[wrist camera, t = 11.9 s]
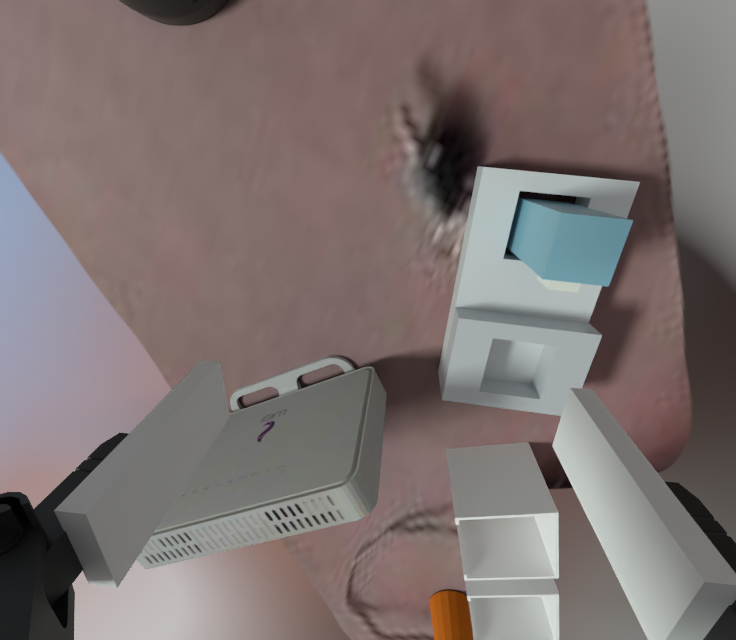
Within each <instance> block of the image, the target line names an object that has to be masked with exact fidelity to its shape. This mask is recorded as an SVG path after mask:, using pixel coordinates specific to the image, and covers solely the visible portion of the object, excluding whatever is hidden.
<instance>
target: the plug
mask: <svg viewBox="0 0 736 640" xmlns="http://www.w3.org/2000/svg"><path fill="white" fill-rule="evenodd" d="M632 223H633V220H631V219H627V218H623V217H620V216H616V215H612V214H609V213H605V212H601V211H598V210H594V209H590V208H587V207H583V206H579V205H576V204H572V203H568V202H560V201H550V200H540V199H530V198H520V197H518V201H517V205H516V209H515V213H514V217H513V221H512V225H511V229H510V233H509V238H508V242H507V246H506V247H507V248H508V249H509V250H510V251H512V252H513V253H514V254H515V255H516V256H517V257H518V258H519V259H520V260H522V261H523V262H524V263H525V264H526V265H527V266H528V267H529V268H531V269H532V270H533V271H534V272H535V273H536V274H537V275H538V276H537V279H538V280H539V281H540V282H541V283H542V284H543V285H544V286H545V287H546V288H547V289H549V290H557V291H566V292H575V293H578V292H579V289H580V286H581V284H590V285H599V286H608V287H609V284H610V282H611V279H612V276H613V274H614V271H615V268H616V266H617V263H618V260H619V258H620V255H621V252H622V250H623V247H624V244H625V242H626V239H627V236H628V234H629V231H630V228H631V226H632Z"/></svg>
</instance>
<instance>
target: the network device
mask: <svg viewBox="0 0 736 640" xmlns="http://www.w3.org/2000/svg"><path fill="white" fill-rule="evenodd" d="M331 364H337V365H339V366H340V367H341V368H342V369H343V371H344V372H345V374H343V375H340V376H337V377H334V378H331V379H328V380H326V381H323V382H320V383H317V384H314V385H311V386H308V387H305V388H302V387H301V385H300V384H299V382H298V377H299V376H300V375H302V374H305V373H308V372H311V371H313V370H316V369H319V368H322V367H325V366H328V365H331ZM266 387H274V388H276V389H277V390H278V392H279V397H276V398H273V399H270V400H268V401H265V402H262V403H259V404H256V405H253V406H250V407H247V408H244V409H243V407H242V406H241V404H240V403H239V397H241V396H243V395H246V394H249V393H252V392H254V391H257V390H260V389H263V388H266ZM386 399H387V393H386V391H385V389H384V387H383V385H382V383H381V381H380V379H379V377H378V375H377V373H376V371H375V369H374V368H373V367H371V366H368V367H363V368H360V369H357V370H355V368H354V366H353V365H352V364H351V363H350V362H349V361H348V360H346V359H345V358H342V357H339V356H327V357H324V358H321V359H318V360H315V361H313V362H310V363H307V364H304V365H302V366H299V367H296V368H293V369H291V370H288V371H285V372H282V373H280V374H277V375H274V376H271V377H269V378H266V379H263V380H260V381H258V382H255V383H252V384H249V385H247V386H244V387H241V388H239V389H237V390H236V391H235V392H234V394H233V395H232V397H231V400H230V405H231V409H232V410H233V413H230V414H229V419H228V421H227V422H226V424H225V426H224V427H223V429H222V430H221V432H220V433H219V435H218V436H217V438H216V439H215V441H214V442H213V444H212V445H211V447H210V448H209V450H208V451H207V453H206V454H205V456H204V457H203V459H202V460H201V462H200V463H199V465H198V466H197V468H196V469H195V471H194V472H193V474H192V475H191V477H190V478H189V480H188V481H187V483H186V485H185V486H184V488H183V489H182V491H181V492H180V494H179V495H178V497H177V498H176V500H175V501H174V503H173V504H172V506H171V507H170V509H169V510H168V512H167V513H166V515H165V516H164V518H163V519H162V521H161V522H160V524H159V525H158V527H157V528H156V530H155V531H154V533H153V534H152V536H151V537H150V539H149V540H148V542H147V544H146V545H145V547H144V548H143V550H142V551H141V553H140V554H139V556H138V557H137V559H136V560H137V561H138V562H139V563H140V564H141V565H142V566H143V567H144V568H145V569H150V568H154V567H158V566H163V565H167V564H171V563H176V562H180V561H184V560H188V559H193V558H197V557H201V556H206V555H210V554H214V553H219V552H223V551H227V550H231V549H236V548H240V547H244V546H249V545H253V544H257V543H261V542H266V541H270V540H274V539H279V538H283V537H288V536H292V535H296V534H301V533H305V532H309V531H313V530H318V529H322V528H326V527H331V526H335V525H339V524H344V523H348V522H352V521H357V520H360V519H362V518H364V517H366V516H367V515H368V514H369V513H370V512H371V511H372V510H373V509H374V507H375V505H376V503H377V499H378V488H379V477H380V466H381V455H382V443H383V432H384V421H385V410H386Z"/></svg>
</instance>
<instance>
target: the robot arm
mask: <svg viewBox="0 0 736 640" xmlns="http://www.w3.org/2000/svg"><path fill="white" fill-rule="evenodd" d="M119 1H121V2H122V3H124V4H125V5H126V6H128V7H130V8H131V9H133V10H135V11H137V12H139V13H140V14H142V15H144V16H146V17H148V18H150V19H152V20H155V21H157V22H160V23H164V24H168V25H190V24H194V23H198V22H200V21H203V20H205V19H207V18H209V17H210V16H212V15H213V14H215V13H216V12H217V11H218V10H219V9H220V8H221V7H223V5H224V4H225V3H226V2H227V1H228V0H119ZM228 419H229V412H228V406H227V400H226V394H225V388H224V382H223V376H222V370H221V364H220V362H219V361H206V360H201V361H200V362H199V363H198V364H197V365H196V366H195V367H194V368H193V369H192V370H191V371H190V372H189V373H188V374H187V375H186V376H185V377H184V378H183V379H182V380H181V381H180V382H179V383H178V384H177V385H176V386H175V387H174V388H173V389H172V391H170V393H169V394H168V395H167V396H166V397H165V398H164V399H163V400H162V401H161V402H160V403H159V404H158V405H157V406H156V407H155V408H154V409H153V410H152V411H151V412H150V413H149V414H148V415H147V416H146V417H145V418H144V419H143V420H142V421H141V422H140V423H139V424H138V425H137V426H136V427H135V428H134V429H133V430H132V431H131V432H130V433H129V434H127V433H119V434H117V435H116V436H114V437H112V438H111V439H109V440H107V441H106V442H104V443H103V444H101V445H100V446H99V447H98V448H97V449H96V450H95V451H94V452H93V453H92V454H91V455H90V456H89V457H88V459H87V460H84V461H83V462H82V463H81V464H80V465H79V466H78V467H77V468H76V471H75V472H72V473H71V474H70V475H69V476H68V477H67V478H66V479H65V480H64V481H63V482H62V483H61V484H60V485H59V486H57V487H56V488H55V490H53V491H52V492H51V493H50V494H49V495H48V496H47V497H46V498H45V499H44V500H43V501H42V502H41V503H40V504H39V505H38V506H37V507H36V508H35V509H33V507H32V505H31V503H30V501H29V499H28V498H27V496H26V495H24V494H22V493H20V492H7V493H3V494H0V640H74V599H75V598H74V597H75V595H74V594H75V592H74V589H73V586H72V583H73V582H74V581H75V579H76V578H77V577H78V575H79V574H80V573H81V571H82V570H83V572H84V574H85V576H86V579H87V581H88V583H89V584H91V585H99V586H107V587H115V588H117V587H118V586H119V584H120V583H121V581H122V580H123V578H124V577H125V575H126V574H127V572H128V571H129V569H130V568H131V566H132V565H133V563H134V562H135V560H136V559H137V557H138V556H139V554H140V553H141V551H142V550H143V548H144V547H145V545H146V544H147V542H148V540H149V539H150V537H151V536H152V534H153V533H154V531H155V530H156V528H157V527H158V525H159V524H160V522H161V521H162V519H163V518H164V516H165V515H166V513H167V512H168V510H169V509H170V507H171V506H172V504H173V503H174V501H175V500H176V498H177V497H178V495H179V494H180V492H181V491H182V489H183V488H184V486H185V485H186V483H187V481H188V480H189V478H190V477H191V475H192V474H193V472H194V471H195V469H196V468H197V466H198V465H199V463H200V462H201V460H202V459H203V457H204V456H205V454H206V453H207V451H208V450H209V448H210V447H211V445H212V444H213V442H214V441H215V439H216V438H217V436H218V435H219V433H220V432H221V430H222V429H223V427H224V426H225V424H226V422H227V421H228ZM552 446H553V448H554V451H555V453H556V455H557V457H558V459H559V461H560V463H561V465H562V467H563V469H564V471H565V473H566V475H567V477H568V479H569V481H570V483H571V485H572V487H573V489H574V491H575V493H576V495H577V497H578V499H579V501H580V503H581V505H582V507H583V509H584V511H585V513H586V515H587V517H588V519H589V521H590V523H591V525H592V527H593V529H594V531H595V533H596V535H597V537H598V539H599V541H600V543H601V546H602V548H603V550H604V552H605V554H606V556H607V558H608V559H609V562H610V564H611V566H612V568H613V570H614V572H615V574H616V576H617V578H618V580H619V582H620V584H621V586H622V588H623V590H624V592H625V594H626V596H627V598H628V600H629V602H630V604H631V606H632V608H633V610H634V612H635V614H636V616H637V618H638V620H639V622H640V624H641V626H642V628H643V630H644V633H645V634H646V637H647V639H648V640H736V543H735V542H734V541H733V540H732V538H731V537H729V536H727V532H725V530H724V529H723V528H722V526H721V525H720V524H719V523H718V522H717V521H715V520H714V517H713V516H712V514H710V512H709V511H708V510H707V508H706V507H705V506H704V505H703V504H702V503H701V501H700V500H699V499H698V498H696V497H695V496H694V495H693V494H691V493H690V492H689V491H688V490H686V489H685V488H684V487H683V486H681V485H680V484H679V483H674V482H664V481H663V480H662V478H661V477H660V476H659V474H658V473H657V472H656V471H655V469H654V468H653V467H652V465H651V464H650V463H649V462H648V460H647V459H646V458H645V456H644V455H643V454H642V453H641V451H640V450H639V449H638V447H637V446H636V445H635V444H634V442H633V441H632V440H631V438H630V437H629V436H628V435H627V433H626V432H625V431H624V429H623V428H622V427H621V426H620V424H619V423H618V422H617V420H616V419H615V418H614V417H613V415H612V414H611V413H610V411H609V410H608V409H607V408H606V406H605V405H604V404H603V403H602V401H601V400H600V399H599V397H598V396H597V395H596V394H595V392H594V391H593V390H592V389H580V388H570V390H569V394H568V397H567V400H566V403H565V407H564V410H563V413H562V416H561V419H560V423H559V426H558V429H557V432H556V436H555V439H554V442H553V445H552Z"/></svg>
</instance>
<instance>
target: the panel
mask: <svg viewBox="0 0 736 640" xmlns="http://www.w3.org/2000/svg"><path fill="white" fill-rule="evenodd" d="M639 184H640V182H636V181H626V180H615V179H605V178H595V177H584V176H574V175H564V174H553V173H543V172H532V171H522V170H512V169H501V168H491V167H481V166H478V168H477V173H476V178H475V183H474V188H473V193H472V199H471V204H470V209H469V214H468V219H467V224H466V230H465V235H464V240H463V245H462V250H461V255H460V261H459V266H458V271H457V276H456V281H455V286H454V292H453V297H452V302H451V307H450V312H449V317H448V323H447V328H446V333H445V338H444V343H443V348H442V354H441V359H440V364H439V369H438V375H439V382H440V390H441V397H442V400H444V401H452V402H460V403H467V404H475V405H482V406H490V407H498V408H505V409H513V410H520V411H528V412H536V413H543V414H551V415H558V416H562V413H563V410H564V407H565V403H566V400H567V397H568V394H569V390H570V388H580V389H582V387H583V384H584V381H585V379H586V376H587V374H588V371H589V369H590V366H591V363H592V361H593V358H594V356H595V353H596V351H597V348H598V345H599V343H600V340H601V338H602V334H600V333H599V332H598V331H597V330H596V329H595V328H594V327H593V326H592V325H590V324H589V321H590V318H591V315H592V313H593V310H594V307H595V304H596V302H597V299H598V296H599V293H600V291H601V288H602V286H599V285H590V284H581V286H580V289H579V292H578V293H575V292H566V291H557V290H549V289H547V288H546V287H545V286H544V285H543V284H542V283H541V282H540V281H539V280H538V279H537V276H538V275H537V274H536V273H535V272H534V271H533V270H532V269H531V268H529V267H528V266H527V265H526V264H525V263H524V262H523V261H522V260H520V259H519V258H518V257H517V256H516V255H515V254H511V253H505V250H506V246H507V242H508V238H509V233H510V229H511V225H512V221H513V217H514V213H515V209H516V205H517V201H518V196H519V192H520V191H526V192H536V193H546V194H556V195H566V196H576V197H577V198H576V202H575V204H576V205H579V206H583V207H587V208H590V209H594V210H598V211H601V212H605V213H609V214H612V215H616V216H620V217H623V218H627V217H628V214H629V211H630V209H631V206H632V203H633V200H634V198H635V195H636V192H637V189H638V187H639Z"/></svg>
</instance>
